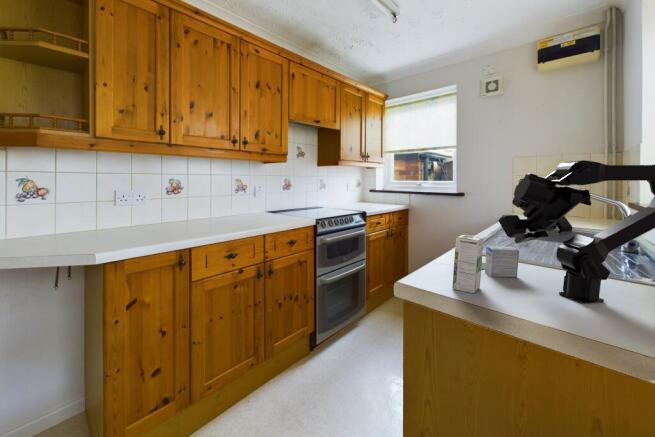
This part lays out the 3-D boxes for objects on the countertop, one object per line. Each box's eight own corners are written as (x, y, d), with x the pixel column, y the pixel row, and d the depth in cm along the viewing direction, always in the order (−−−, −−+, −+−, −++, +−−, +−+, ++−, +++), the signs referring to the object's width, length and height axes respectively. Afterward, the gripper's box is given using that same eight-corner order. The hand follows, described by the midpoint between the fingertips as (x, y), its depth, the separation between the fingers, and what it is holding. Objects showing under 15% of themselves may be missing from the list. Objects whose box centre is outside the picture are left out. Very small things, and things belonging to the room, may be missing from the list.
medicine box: (510, 273, 96) (512, 246, 95) (517, 277, 92) (519, 249, 91) (484, 272, 97) (486, 246, 96) (490, 277, 93) (492, 249, 92)
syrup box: (458, 283, 87) (460, 233, 85) (480, 288, 83) (484, 236, 82) (452, 289, 83) (454, 237, 81) (475, 294, 79) (478, 239, 77)
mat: (497, 268, 101) (497, 267, 101) (470, 270, 99) (470, 269, 99) (484, 263, 107) (484, 262, 107) (458, 264, 106) (458, 264, 106)
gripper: (566, 184, 82) (529, 219, 95) (506, 184, 79) (475, 220, 91) (593, 216, 76) (549, 249, 88) (528, 218, 72) (492, 252, 85)
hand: (516, 242), depth 88 cm, fingers closed
